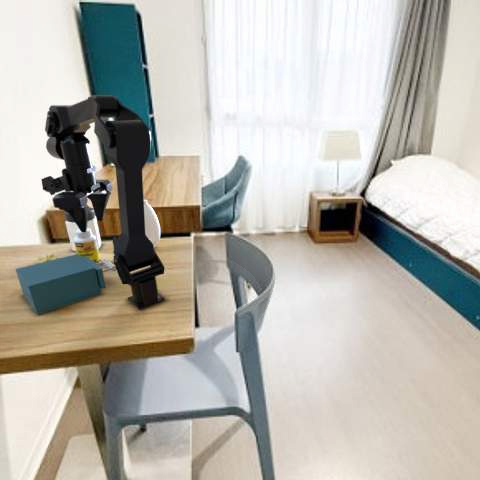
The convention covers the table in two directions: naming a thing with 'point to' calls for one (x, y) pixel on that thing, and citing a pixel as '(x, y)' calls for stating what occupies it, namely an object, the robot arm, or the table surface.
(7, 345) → the table surface
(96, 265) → the drawer
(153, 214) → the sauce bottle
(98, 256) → the supplement bottle
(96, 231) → the jar
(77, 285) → the cabinet
